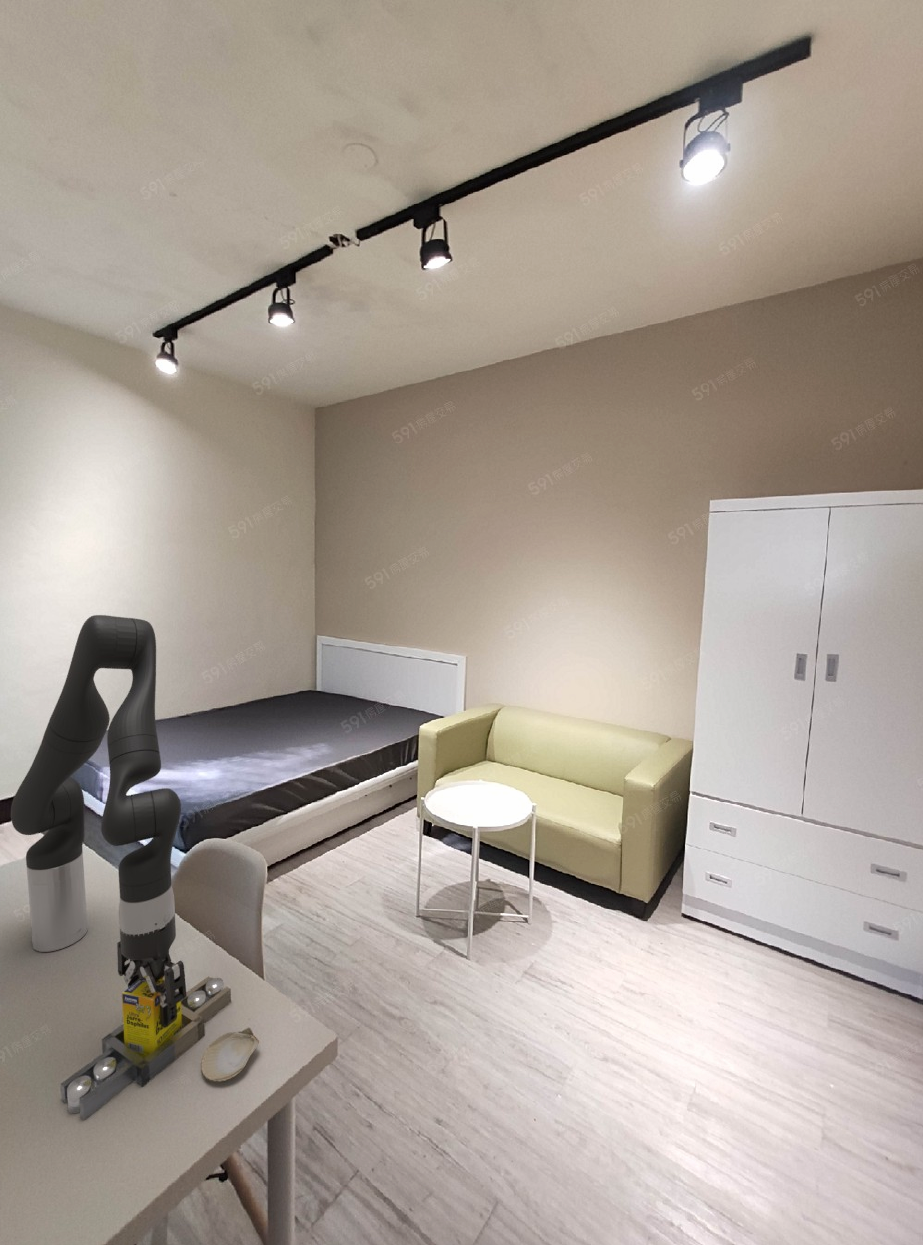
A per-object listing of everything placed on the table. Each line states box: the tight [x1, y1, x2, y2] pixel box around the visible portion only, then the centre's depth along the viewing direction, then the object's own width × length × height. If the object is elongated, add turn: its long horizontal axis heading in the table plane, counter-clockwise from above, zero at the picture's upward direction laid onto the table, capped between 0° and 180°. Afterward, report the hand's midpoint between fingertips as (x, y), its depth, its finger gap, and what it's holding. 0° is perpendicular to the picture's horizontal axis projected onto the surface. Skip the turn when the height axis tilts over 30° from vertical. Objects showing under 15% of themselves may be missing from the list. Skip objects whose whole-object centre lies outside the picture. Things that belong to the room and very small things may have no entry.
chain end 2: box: [170, 976, 232, 1061], centre depth 93 cm, size 10×12×3 cm
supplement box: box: [121, 976, 182, 1059], centre depth 88 cm, size 6×6×11 cm
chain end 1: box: [60, 1023, 176, 1121], centre depth 83 cm, size 10×12×3 cm
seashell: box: [200, 1027, 260, 1083], centre depth 85 cm, size 8×3×8 cm
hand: (152, 1012), depth 88 cm, fingers open, 8 cm apart
